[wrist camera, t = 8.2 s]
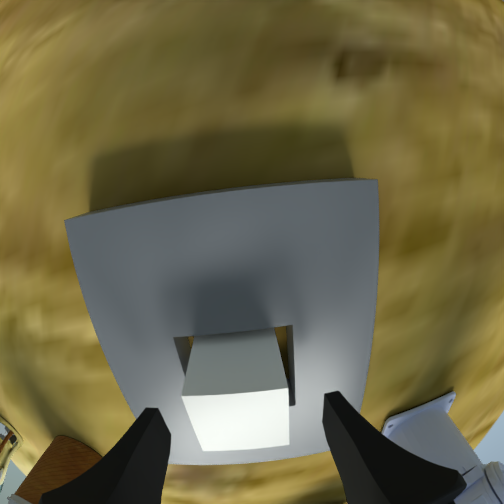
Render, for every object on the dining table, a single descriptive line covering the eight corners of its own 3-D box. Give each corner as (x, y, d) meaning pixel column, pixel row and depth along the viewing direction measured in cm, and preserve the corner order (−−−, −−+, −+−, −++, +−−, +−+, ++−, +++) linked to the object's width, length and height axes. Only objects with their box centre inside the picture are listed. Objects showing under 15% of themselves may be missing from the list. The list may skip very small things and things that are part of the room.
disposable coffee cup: (28, 421, 18) (-13, 495, 6) (84, 427, 18) (42, 528, 6) (78, 471, 21) (54, 540, 9) (137, 479, 20) (120, 565, 9)
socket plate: (343, 422, 18) (352, 444, 16) (168, 440, 18) (163, 463, 16) (355, 177, 13) (377, 179, 11) (88, 212, 13) (64, 220, 11)
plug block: (274, 368, 16) (289, 444, 11) (210, 374, 16) (203, 451, 10) (270, 313, 15) (288, 387, 9) (198, 320, 15) (181, 395, 9)
